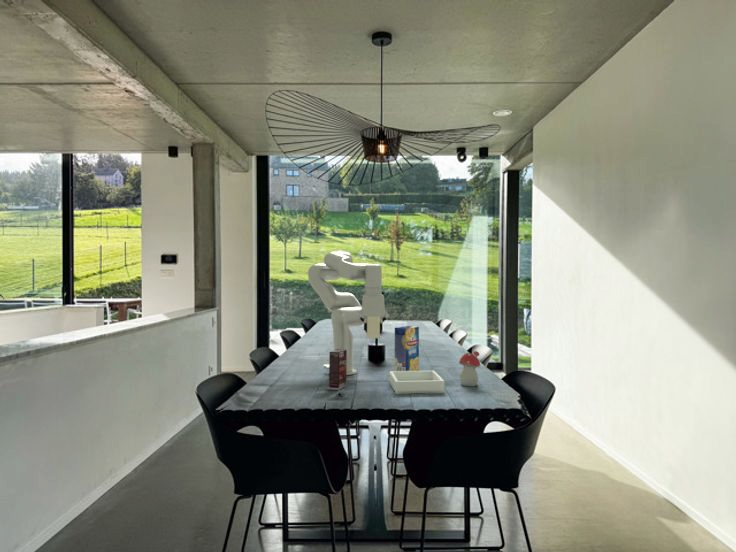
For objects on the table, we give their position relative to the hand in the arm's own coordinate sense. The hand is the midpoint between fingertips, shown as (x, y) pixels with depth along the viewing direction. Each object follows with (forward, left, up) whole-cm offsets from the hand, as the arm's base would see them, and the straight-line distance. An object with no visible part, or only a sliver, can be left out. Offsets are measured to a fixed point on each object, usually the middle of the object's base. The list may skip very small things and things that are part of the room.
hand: (373, 331), depth 243 cm
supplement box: (-16, -12, -23) cm, 30 cm away
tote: (+17, -14, -22) cm, 31 cm away
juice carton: (0, 0, -3) cm, 3 cm away
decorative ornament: (+41, -11, -23) cm, 48 cm away
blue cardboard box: (+18, +20, -23) cm, 35 cm away
